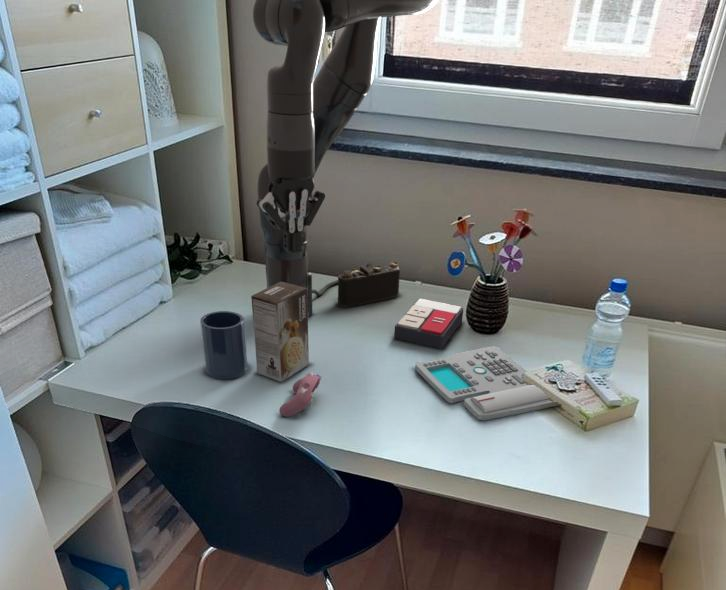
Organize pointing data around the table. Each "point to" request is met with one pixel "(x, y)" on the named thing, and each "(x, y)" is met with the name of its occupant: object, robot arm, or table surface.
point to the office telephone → (484, 383)
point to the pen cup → (224, 344)
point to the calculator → (429, 323)
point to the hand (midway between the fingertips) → (292, 252)
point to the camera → (368, 285)
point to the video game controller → (301, 395)
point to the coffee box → (281, 330)
